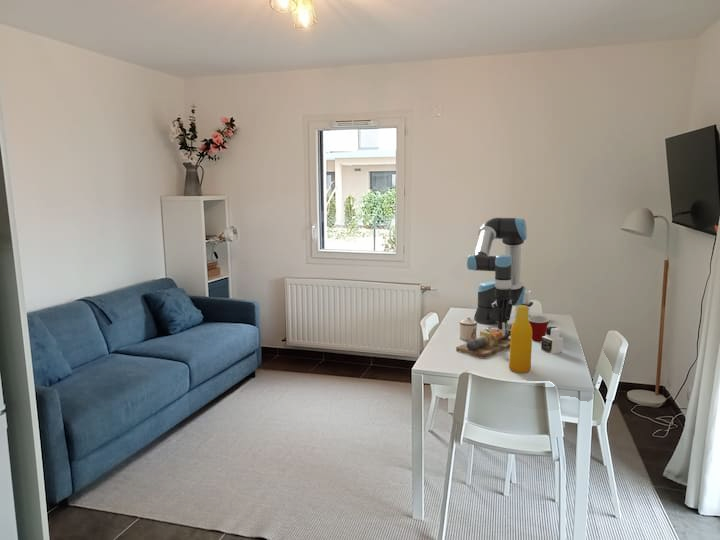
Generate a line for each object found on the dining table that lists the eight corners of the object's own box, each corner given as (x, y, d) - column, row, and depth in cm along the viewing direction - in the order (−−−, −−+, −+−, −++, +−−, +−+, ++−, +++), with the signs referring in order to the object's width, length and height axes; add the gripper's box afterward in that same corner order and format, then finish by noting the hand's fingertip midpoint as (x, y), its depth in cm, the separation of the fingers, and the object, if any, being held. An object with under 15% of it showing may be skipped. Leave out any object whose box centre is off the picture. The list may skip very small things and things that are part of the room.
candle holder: (546, 314, 344) (548, 288, 341) (539, 323, 323) (540, 296, 320) (506, 309, 356) (507, 285, 353) (497, 318, 335) (498, 292, 332)
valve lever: (485, 330, 276) (485, 326, 276) (490, 330, 277) (491, 326, 276) (496, 338, 263) (496, 334, 262) (502, 337, 263) (502, 333, 263)
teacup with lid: (474, 341, 286) (475, 320, 284) (457, 339, 290) (458, 318, 288) (479, 335, 297) (480, 314, 295) (462, 333, 301) (463, 313, 299)
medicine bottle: (540, 350, 272) (542, 326, 270) (552, 348, 275) (553, 325, 273) (551, 354, 266) (552, 330, 264) (562, 352, 268) (564, 328, 266)
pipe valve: (492, 337, 293) (493, 321, 292) (519, 344, 282) (520, 327, 280) (456, 350, 271) (456, 333, 270) (483, 358, 260) (484, 339, 258)
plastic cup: (523, 340, 288) (524, 318, 286) (532, 336, 296) (533, 314, 294) (543, 344, 281) (544, 321, 279) (552, 340, 289) (553, 317, 287)
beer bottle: (529, 367, 248) (532, 304, 243) (531, 374, 239) (534, 309, 234) (508, 365, 250) (511, 303, 245) (509, 372, 241) (512, 308, 236)
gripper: (507, 284, 268) (506, 331, 272) (487, 287, 262) (486, 335, 266) (518, 287, 262) (517, 335, 266) (497, 290, 256) (496, 339, 260)
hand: (501, 335), depth 266 cm, fingers closed
